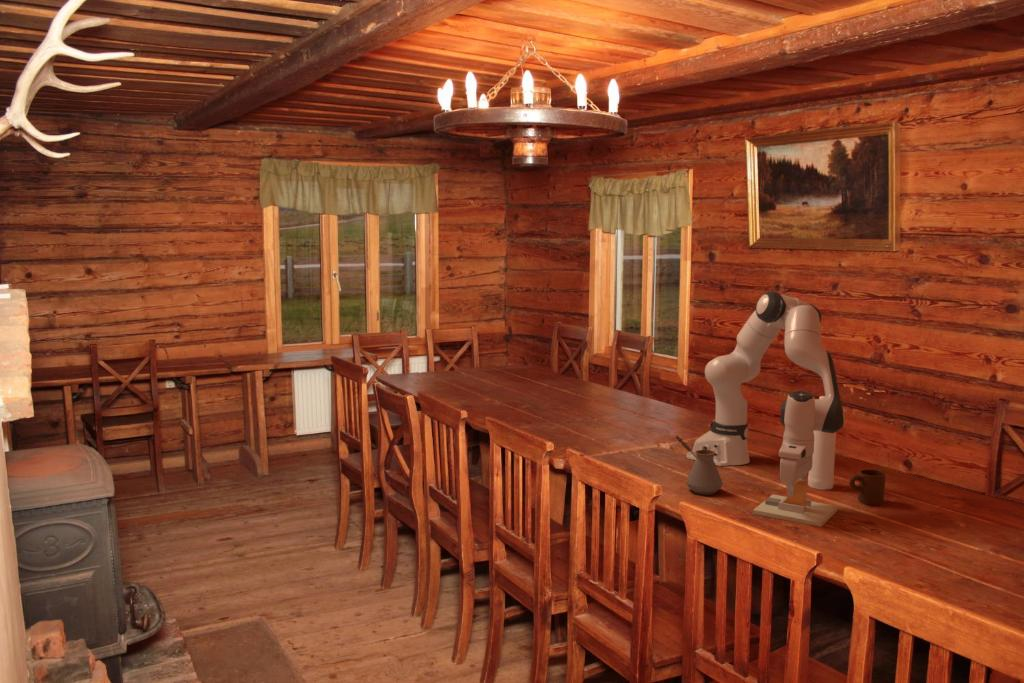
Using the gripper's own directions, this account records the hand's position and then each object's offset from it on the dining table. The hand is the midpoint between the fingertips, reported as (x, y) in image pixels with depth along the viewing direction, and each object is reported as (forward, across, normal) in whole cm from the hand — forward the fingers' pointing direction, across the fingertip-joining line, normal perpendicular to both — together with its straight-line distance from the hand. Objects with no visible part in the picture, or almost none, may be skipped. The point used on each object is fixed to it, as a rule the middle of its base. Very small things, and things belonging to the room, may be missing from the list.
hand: (795, 491), depth 269 cm
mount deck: (+6, 0, 0) cm, 6 cm away
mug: (+6, -21, +15) cm, 27 cm away
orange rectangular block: (+5, 0, 0) cm, 5 cm away
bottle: (+7, -30, -1) cm, 31 cm away
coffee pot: (+7, -6, -35) cm, 36 cm away
